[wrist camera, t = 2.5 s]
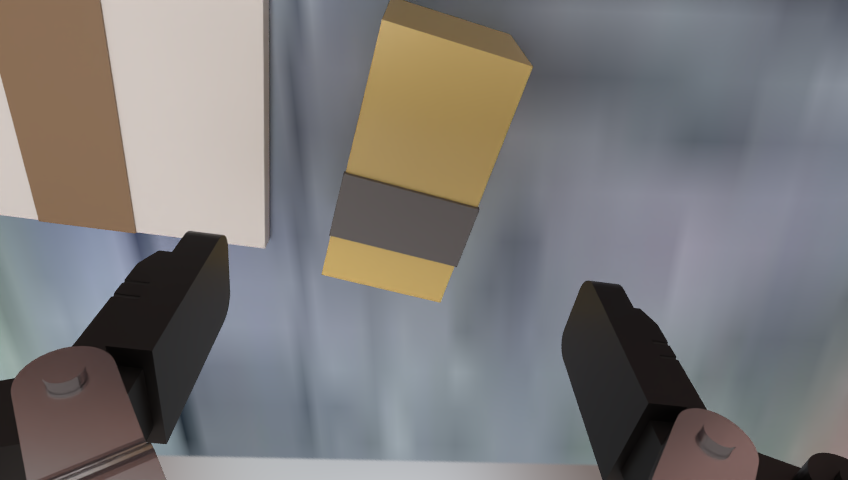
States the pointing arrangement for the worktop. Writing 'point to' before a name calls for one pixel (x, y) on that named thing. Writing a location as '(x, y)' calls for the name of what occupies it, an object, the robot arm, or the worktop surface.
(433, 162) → the block
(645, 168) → the worktop surface
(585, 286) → the robot arm
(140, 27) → the floor panel
